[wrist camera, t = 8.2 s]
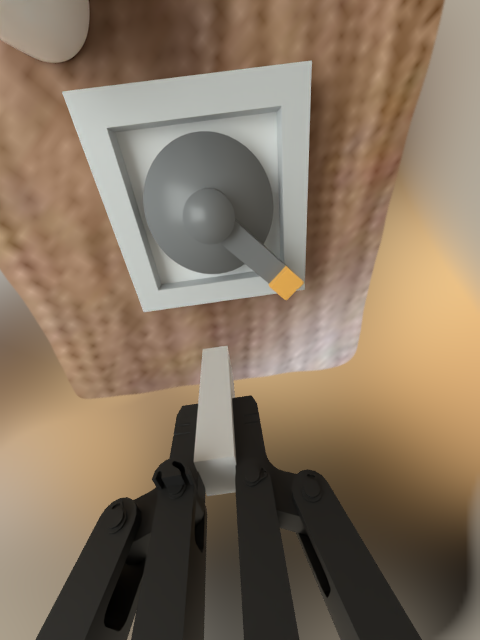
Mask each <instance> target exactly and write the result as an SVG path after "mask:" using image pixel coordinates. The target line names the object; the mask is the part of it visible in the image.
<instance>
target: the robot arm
mask: <svg viewBox="0 0 480 640" xmlns="http://www.w3.org/2000/svg"><path fill="white" fill-rule="evenodd" d="M152 480H153V482H154V483H155V485H156V488H155V489H153V490H152V491H150V492H149V493H147V494H145V495H143V496H141V497H139V498H137V499H135V500H132V499H130V498H127V497H126V498H120V499H118V500H116V501H114V502H112V503H111V504H110V505H109V506H108V507H107V508H106V509H105V510H104V512H103V513H102V515H101V516H100V518H99V520H98V522H97V524H96V526H95V527H94V530H93V531H92V533H91V535H90V537H89V539H88V541H87V543H86V545H85V547H84V548H83V550H82V552H81V554H80V556H79V558H78V560H77V562H76V564H75V566H74V567H73V570H72V571H71V573H70V575H69V577H68V579H67V581H66V583H65V585H64V586H63V588H62V590H61V592H60V594H59V596H58V598H57V600H56V602H55V604H54V606H53V607H52V609H51V611H50V613H49V615H48V617H47V619H46V621H45V623H44V625H43V626H42V628H41V630H40V632H39V634H38V636H37V638H36V640H127V637H128V634H129V631H130V628H131V625H132V622H133V619H134V616H135V613H136V616H135V622H134V627H133V633H132V639H131V640H204V611H205V576H206V575H205V574H206V537H207V509H206V506H205V491H206V494H207V496H211V495H217V494H224V493H231V492H236V504H237V524H238V541H239V559H240V576H241V592H242V593H241V594H242V611H243V629H244V640H299V635H298V629H297V624H296V618H295V612H294V607H293V601H292V596H291V590H290V584H289V578H288V573H287V567H286V561H285V556H284V550H283V545H282V539H281V533H280V528H283V529H286V530H290V531H294V532H296V534H297V537H298V539H299V541H300V544H301V546H302V549H303V551H304V553H305V556H306V558H307V561H308V563H309V565H310V568H311V570H312V572H313V575H314V577H315V580H316V582H317V584H318V587H319V589H320V592H321V594H322V596H323V599H324V601H325V603H326V606H327V608H328V611H329V613H330V615H331V618H332V620H333V623H334V625H335V627H336V630H337V632H338V635H339V637H340V639H341V640H422V639H421V638H420V636H419V634H418V633H417V631H416V629H415V628H414V626H413V624H412V623H411V621H410V619H409V618H408V616H407V614H406V613H405V611H404V609H403V607H402V606H401V604H400V602H399V601H398V599H397V597H396V596H395V594H394V592H393V591H392V589H391V588H390V586H389V584H388V583H387V581H386V579H385V578H384V576H383V574H382V572H381V571H380V569H379V568H378V566H377V564H376V563H375V561H374V559H373V557H372V556H371V554H370V552H369V551H368V549H367V547H366V546H365V544H364V542H363V541H362V539H361V537H360V536H359V534H358V533H357V531H356V529H355V527H354V526H353V524H352V522H351V521H350V519H349V517H348V516H347V514H346V512H345V511H344V509H343V507H342V506H341V504H340V502H339V501H338V499H337V497H336V496H335V494H334V492H333V490H332V489H331V487H330V486H329V484H328V482H327V481H326V480H325V479H324V477H323V476H322V475H320V474H319V473H317V472H316V471H312V470H303V471H300V472H299V473H298V474H294V473H289V472H284V471H282V470H279V469H277V468H276V467H274V466H273V465H272V464H271V463H270V462H269V460H268V458H267V455H266V452H265V446H264V441H263V435H262V429H261V424H260V418H259V412H258V407H257V403H256V402H255V400H254V398H253V397H252V396H244V397H237V398H235V394H234V382H233V374H232V368H231V363H230V357H229V352H228V346H223V347H216V348H209V349H203V353H202V366H201V378H200V390H199V403H198V404H192V405H186V406H182V408H181V410H180V411H179V413H178V414H177V418H176V424H175V430H174V436H173V441H172V448H171V453H170V459H168V460H166V461H164V462H163V463H162V464H160V465H159V467H158V468H157V469H156V471H155V473H154V475H153V478H152ZM136 610H137V611H136Z"/></svg>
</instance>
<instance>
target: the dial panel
mask: <svg viewBox="0 0 480 640" xmlns="http://www.w3.org/2000/svg"><path fill="white" fill-rule="evenodd" d="M311 69H312V61H304V62H296V63H288V64H280V65H272V66H264V67H256V68H248V69H240V70H232V71H224V72H216V73H208V74H200V75H192V76H184V77H176V78H167V79H159V80H151V81H143V82H135V83H127V84H119V85H111V86H103V87H95V88H87V89H79V90H71V91H63V92H62V93H63V96H64V98H65V101H66V104H67V107H68V109H69V112H70V115H71V117H72V120H73V123H74V125H75V128H76V131H77V133H78V136H79V139H80V142H81V144H82V147H83V150H84V152H85V155H86V158H87V160H88V163H89V166H90V168H91V171H92V174H93V177H94V179H95V182H96V185H97V187H98V190H99V193H100V195H101V198H102V201H103V203H104V206H105V209H106V212H107V214H108V217H109V220H110V222H111V225H112V228H113V230H114V233H115V236H116V238H117V241H118V244H119V247H120V249H121V252H122V255H123V257H124V260H125V263H126V265H127V268H128V271H129V273H130V276H131V279H132V282H133V284H134V287H135V290H136V292H137V295H138V298H139V300H140V303H141V306H142V308H143V311H144V312H148V311H155V310H162V309H169V308H176V307H184V306H191V305H198V304H205V303H212V302H219V301H226V300H233V299H240V298H248V297H255V296H262V295H269V294H276V292H275V291H274V290H272V289H271V288H270V287H269V285H268V284H269V283H268V282H266V281H265V280H264V279H263V278H261V277H260V276H259V275H258V274H257V273H255V272H254V271H253V270H252V269H251V268H249V267H248V266H247V265H246V264H244V265H243V266H241V267H239V268H237V269H235V270H233V271H229V272H226V273H221V274H203V273H198V272H195V271H192V270H189V269H187V268H185V267H182V266H181V265H179V264H178V263H176V262H175V261H173V260H172V259H171V258H170V257H168V256H167V255H166V254H165V253H164V252H163V251H162V249H161V248H160V247H159V245H158V244H157V243H156V241H155V239H154V238H153V236H152V234H151V232H150V229H149V227H148V224H147V221H146V217H145V212H144V205H143V192H144V185H145V180H146V177H147V173H148V171H149V168H150V166H151V164H152V162H153V161H154V159H155V158H156V156H157V155H158V153H159V152H160V151H161V150H162V149H163V148H164V147H165V146H166V145H168V144H169V143H170V142H171V141H173V140H175V139H176V138H178V137H180V136H183V135H185V134H188V133H192V132H198V131H211V132H217V133H221V134H224V135H227V136H230V137H231V138H233V139H235V140H237V141H239V142H240V143H242V144H243V145H244V146H246V147H247V148H248V149H249V150H250V151H251V152H252V153H253V154H254V155H255V157H256V158H257V159H258V160H259V162H260V163H261V165H262V166H263V168H264V170H265V172H266V174H267V176H268V179H269V182H270V185H271V189H272V194H273V204H274V209H273V219H272V225H271V228H270V231H269V234H268V236H267V239H266V241H265V242H264V245H265V246H266V247H267V248H268V249H269V250H270V251H271V252H273V253H274V254H275V255H276V256H277V257H278V258H279V259H280V260H281V261H282V262H284V263H285V264H286V265H287V266H288V267H289V268H290V269H291V270H292V271H293V272H294V273H295V274H296V275H297V276H298V277H299V278H301V279H302V280H303V282H304V283H303V284H302V285H301V286H300V287H299V288H298V289H297V290H304V289H305V261H306V229H307V197H308V165H309V133H310V101H311ZM297 290H296V291H297Z"/></svg>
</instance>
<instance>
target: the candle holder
mask: <svg viewBox="0 0 480 640" xmlns="http://www.w3.org/2000/svg"><path fill="white" fill-rule="evenodd" d="M89 21H90V8H89V0H0V40H1V41H3V42H4V43H6V44H8V45H10V46H12V47H13V48H15V49H17V50H19V51H21V52H23V53H24V54H26V55H28V56H30V57H33V58H35V59H38V60H40V61H44V62H49V63H60V62H64V61H67V60H69V59H71V58H72V57H74V56H75V55H76V54H77V53H78V52H79V51H80V49H81V48H82V46H83V44H84V42H85V40H86V37H87V34H88V29H89Z"/></svg>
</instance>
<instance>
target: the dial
mask: <svg viewBox="0 0 480 640" xmlns="http://www.w3.org/2000/svg"><path fill="white" fill-rule="evenodd" d="M143 205H144V212H145V217H146V221H147V224H148V227H149V229H150V232H151V234H152V236H153V238H154V239H155V241H156V243H157V244H158V245H159V247H160V248H161V249H162V251H163V252H164V253H165V254H166V255H167V256H168V257H170V258H171V259H172V260H173V261H175V262H176V263H178V264H179V265H181V266H182V267H185V268H187V269H189V270H192V271H195V272H198V273H203V274H221V273H226V272H229V271H233V270H235V269H237V268H239V267H241V266H243V265H244V264H246V265H247V266H248V267H249V268H251V269H252V270H253V271H254V272H255V273H257V274H258V275H259V276H260V277H261V278H263V279H264V280H265V281H266V282H268V283H269V284H268V285H269V287H270V288H271V289H272V290H274V291H275V292H276V293H277V294H279V295H280V296H281V297H282V298H283V299H285V300H287V299H288V298H289V297H290V296H291V295H292V294H293V293H294V292H295V291H296V290H297V289H298V288H299V287H300V286H301V285H302V284H303V283H304V282H303V280H302V279H301V278H299V277H298V276H297V275H296V274H295V273H294V272H293V271H292V270H291V269H290V268H289V267H288V266H287V265H286V264H285V263H284V262H282V261H281V260H280V259H279V258H278V257H277V256H276V255H275V254H274V253H273V252H271V251H270V250H269V249H268V248H267V247H266V246H265V245H264V242H265V241H266V239H267V236H268V234H269V231H270V228H271V225H272V219H273V209H274V204H273V194H272V189H271V185H270V182H269V179H268V176H267V174H266V172H265V170H264V168H263V166H262V165H261V163H260V162H259V160H258V159H257V158H256V157H255V155H254V154H253V153H252V152H251V151H250V150H249V149H248V148H247V147H246V146H244V145H243V144H242V143H240V142H239V141H237V140H235V139H233V138H231V137H230V136H227V135H224V134H221V133H217V132H211V131H198V132H192V133H188V134H185V135H183V136H180V137H178V138H176V139H175V140H173V141H171V142H170V143H169V144H168V145H166V146H165V147H164V148H163V149H162V150H161V151H160V152H159V153H158V155H157V156H156V158H155V159H154V161H153V162H152V164H151V166H150V168H149V171H148V173H147V177H146V180H145V185H144V192H143Z"/></svg>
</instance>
